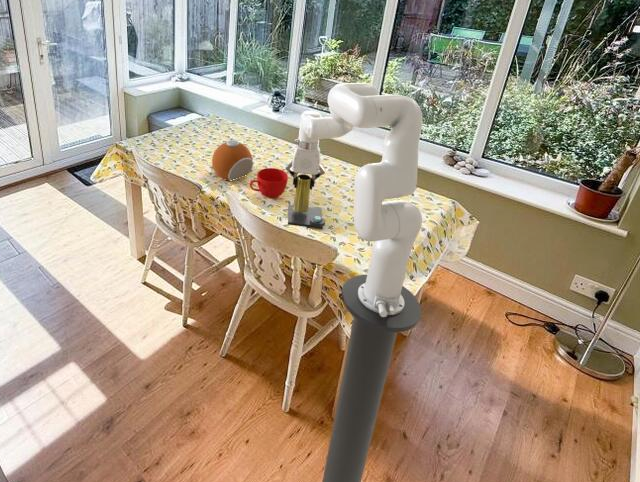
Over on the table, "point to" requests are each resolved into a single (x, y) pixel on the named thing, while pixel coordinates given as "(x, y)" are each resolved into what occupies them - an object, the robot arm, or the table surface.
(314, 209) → the scale
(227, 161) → the alarm clock
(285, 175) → the ceramic cup
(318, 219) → the button
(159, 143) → the table surface
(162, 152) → the table surface
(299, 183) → the vase
